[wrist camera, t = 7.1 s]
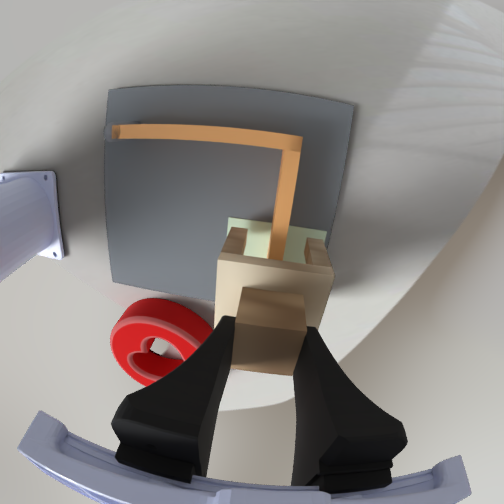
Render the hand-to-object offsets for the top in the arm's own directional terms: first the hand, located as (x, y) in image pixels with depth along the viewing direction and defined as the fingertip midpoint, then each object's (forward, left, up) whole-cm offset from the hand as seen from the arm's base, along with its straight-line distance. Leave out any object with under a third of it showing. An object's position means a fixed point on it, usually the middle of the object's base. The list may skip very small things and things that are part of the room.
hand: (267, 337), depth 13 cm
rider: (0, 0, -6) cm, 6 cm away
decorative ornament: (-8, -10, -8) cm, 15 cm away
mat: (-4, +4, -8) cm, 10 cm away
